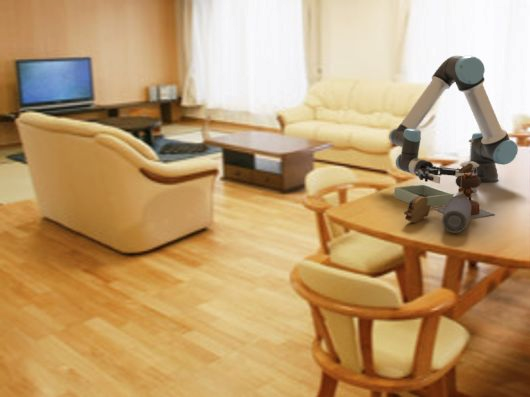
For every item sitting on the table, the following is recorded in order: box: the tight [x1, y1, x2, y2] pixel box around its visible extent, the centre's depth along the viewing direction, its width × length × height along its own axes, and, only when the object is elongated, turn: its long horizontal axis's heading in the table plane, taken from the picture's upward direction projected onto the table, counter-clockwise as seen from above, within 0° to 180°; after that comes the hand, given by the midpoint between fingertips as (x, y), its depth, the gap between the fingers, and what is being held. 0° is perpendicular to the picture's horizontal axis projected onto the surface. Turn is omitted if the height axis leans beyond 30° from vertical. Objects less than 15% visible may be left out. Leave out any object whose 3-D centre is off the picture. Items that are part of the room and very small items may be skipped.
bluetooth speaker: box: [441, 194, 471, 234], centre depth 213 cm, size 23×9×10 cm, turn 157°
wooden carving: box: [403, 195, 432, 224], centre depth 221 cm, size 16×5×10 cm, turn 141°
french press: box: [455, 138, 480, 199], centre depth 256 cm, size 10×12×25 cm
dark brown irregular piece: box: [455, 163, 482, 215], centre depth 230 cm, size 15×11×20 cm
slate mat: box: [434, 206, 495, 220], centre depth 232 cm, size 16×16×1 cm
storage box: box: [393, 183, 455, 208], centre depth 250 cm, size 15×20×4 cm
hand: (453, 178), depth 236 cm, fingers open, 13 cm apart
